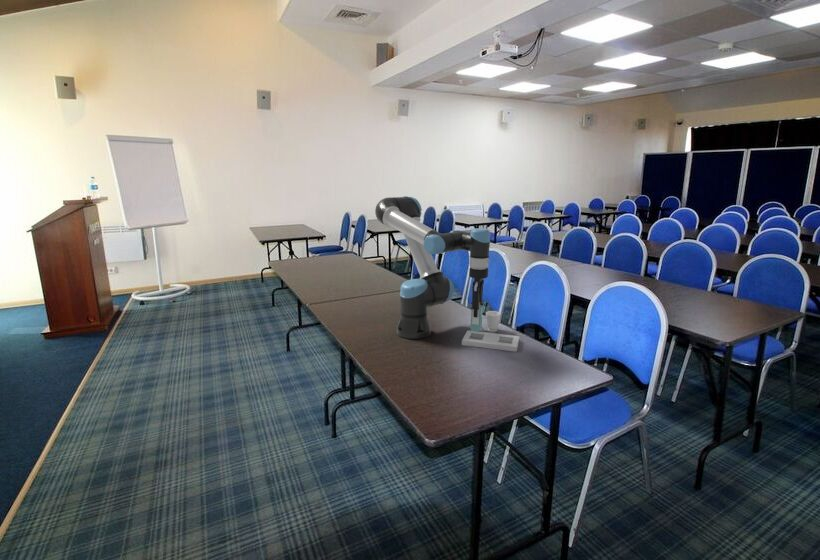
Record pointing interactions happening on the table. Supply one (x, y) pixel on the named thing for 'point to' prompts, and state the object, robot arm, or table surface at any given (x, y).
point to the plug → (479, 327)
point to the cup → (492, 320)
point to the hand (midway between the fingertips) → (476, 322)
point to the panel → (491, 340)
